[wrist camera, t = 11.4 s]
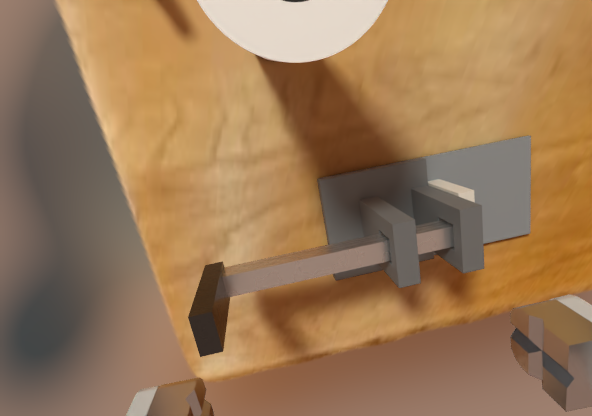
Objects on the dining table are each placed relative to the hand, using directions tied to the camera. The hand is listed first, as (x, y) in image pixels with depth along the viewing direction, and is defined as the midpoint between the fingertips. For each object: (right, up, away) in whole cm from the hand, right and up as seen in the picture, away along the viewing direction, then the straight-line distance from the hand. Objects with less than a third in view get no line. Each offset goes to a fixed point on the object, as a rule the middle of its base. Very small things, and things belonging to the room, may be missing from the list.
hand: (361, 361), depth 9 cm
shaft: (+2, 0, +24) cm, 24 cm away
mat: (+20, +5, +32) cm, 38 cm away
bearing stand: (+8, +3, +31) cm, 32 cm away
